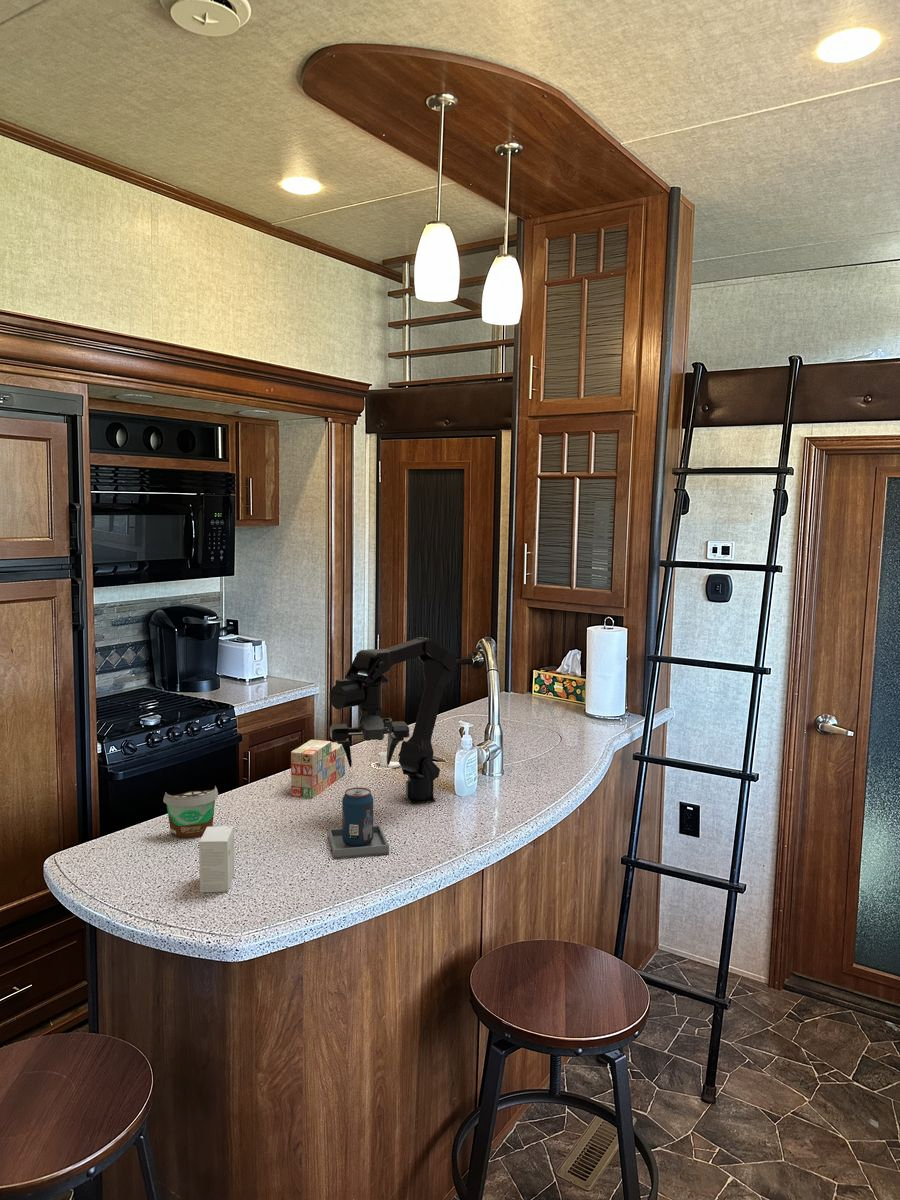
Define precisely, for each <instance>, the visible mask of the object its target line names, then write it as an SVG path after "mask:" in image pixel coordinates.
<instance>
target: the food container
mask: <svg viewBox="0 0 900 1200" xmlns="http://www.w3.org/2000/svg"><path fill="white" fill-rule="evenodd" d="M163 796H164V797H163V803H164V804H166V809H167V815H168V823H169V831H170V835H171V836H172V837H175V838H177V839H183V840H184V839H186V840H188V839H197V838H201V837H202V835H203V834H204V832H205V830H206V828H207V827H214V825H213V824H214V818H215V817H214V816H215V813H214V812H215V807H216V806H215V805H216V800H217V799H218V798H219V792H218V788H217V786H216V785H215V786H214V789H213V788H212V789H209V790H208V789H207V790H190V791H186V792H183V793H179V794H173V795H171V794H168V793H167V792H164V795H163Z"/></svg>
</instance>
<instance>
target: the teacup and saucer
mask: <svg viewBox="0 0 900 1200" xmlns="http://www.w3.org/2000/svg"><path fill="white" fill-rule="evenodd" d="M376 759H377V761H375V762H372V763H371V764H370V767H371V768H373V769H375V768H376V767H377V766H375V767H374V765H373V764H375V763H378V762H379V763H378V764H379V766H380V767H382V768H384V767H385V766H386V767H385V768H384V769H382V768H380V767H377V768H376V770H382V771H383V770H386V771H387V770H391V769H396V768H399V767H401V766H400V764H399V761H390V764H389V765H387V751H380V752H378V753H377V754H376ZM375 765H376V764H375Z"/></svg>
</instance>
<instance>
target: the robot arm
mask: <svg viewBox="0 0 900 1200" xmlns="http://www.w3.org/2000/svg"><path fill="white" fill-rule="evenodd" d="M415 658H418V660H420V661H421V662H422V663H423V669H422V673H423V676H424V677H423V678H424V680H425V685H424V689H423V692H422V697H421V701H420V704H419V708H418V712H417V715H416V719H415V724H414V727H413V732H412V735H411V737H410V727H409V725H408V724H407V723H406V722H405V721H404V720H402V721H397V720H396V721H393V719H392V717H385V718H384V717H383V714H382V712H383V711H382V705H383V704H382V703H383V702H382V700H383V699H382V698H383V697H382V694H383V693H382V692H383V689H382V687H383V685H382V684H386V683H389V679H388V678H387V677H386V676H385V675H384V674H386V673H387V672H389V671H390V670H391V669H392V667H394V666H395V665H397V664H400V663H404V662H407V661H410V660H413V659H415ZM457 667H458V659H456V655H455V654H453V653H452V652H449V651H448V650H446V649H445V648H443V647H442V646H440V645H438V644H437V643H436V642H435V641H434V640H432V639H431V638H429V637H422V636H418V637H414V638H413V639H411V640H408V641H405V642H402V643H399V644H395V645H392V646H390V647H389V646H388V647H386V648H382V649H381V648H378V649H376V648H373V649H361V650H359V651H357V653H355V657H354V659H353V661H352V663H351V665H350V667H349V668H348V669H347V672H346V674H345V676H344V679H336V680H335V684H334V685H333V686H332V688H331V690H330V692H329V701H330V704H331V705H332V707H333V708H334V709H335V710H342V709H344V710H345V709H347V708H354V707H357V727H348V725H347V723H339V724H338V723H335V724H331V725H330V727H329V738H330V739H331V742H332V741H333V742H336V743H337V744H342V746H343V748H344V754H345V758H346V759H347V763H348V765H349V768H352V763H353V762H352V752H351V747H350V746H351V742H350V739H349V737H350V736H353V737H354V736H362V738H363V740H365V741H367V742H369V741H374V740H375V741H382V740H384V739H385V735H387V747H386V748H387V749H386V752H387V765H389V764H390V761H391V760H392V758H393V755H394V752H395V749H396V747H397V745H398V744H399V743H400V742H402V743H400V744H401V746H400V750H399V753H398V762H399V764H400V766H399V767H400V768H401V770H402V774H403V775H407V780H406V781H405V796H406V798H407V800H408V801H409V803H410V804H420V803H421V804H422V803H423V804H424V803H434V802H436V799H435V797H434V790H435V789H434V781H435V780H436V779H439V776H440V772H441V769H440V768H439V767H438V765H437V764H435V762H434V761H433V760H434V759H433V758H434V753H435V752H434V749H433V745H432V737H433V733H434V729H435V725H436V720H437V717H438V713H439V710H440V705H441V701H442V697H443V694H444V688H445V687H446V686H447V685H448V684H449V683H450V681H451V680H452V679H453V678H454V675H455V671H456V670H457ZM405 738H406V739H407V738H409V739H408V740H407V741H405ZM391 762H392V761H391Z"/></svg>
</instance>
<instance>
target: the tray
mask: <svg viewBox="0 0 900 1200" xmlns="http://www.w3.org/2000/svg"><path fill="white" fill-rule="evenodd" d="M327 833H328V842H329V845H330V849H331V853H332V856H333V857H332V858H333V859H334V860H337V859H338V860H339V859H348V858H360V857H362V858H363V857H372V856H383V855H390V845H389V844H390V843H388V839H387V838H386V835H385V833H384V830H383V828H382V827H381V825H380V824H379V825H378V824H377V825H373V840H372V841H371V843H370V845H368V846H365V847H354V848H350V847H348V846H346V845H345V843H344V841H343V839H342V827H341V828H340V827H339V828H329V829H328V831H327Z"/></svg>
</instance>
